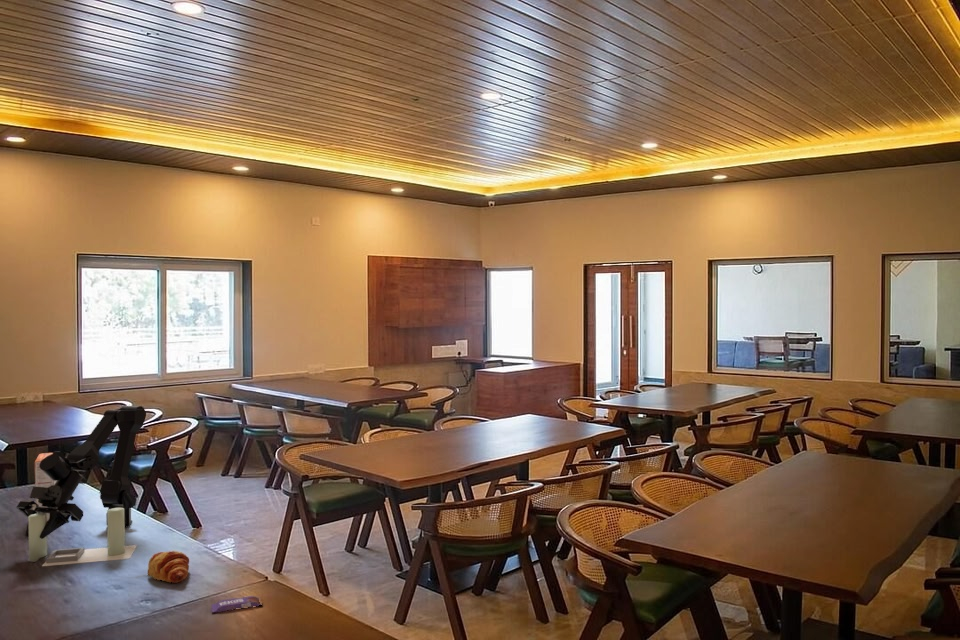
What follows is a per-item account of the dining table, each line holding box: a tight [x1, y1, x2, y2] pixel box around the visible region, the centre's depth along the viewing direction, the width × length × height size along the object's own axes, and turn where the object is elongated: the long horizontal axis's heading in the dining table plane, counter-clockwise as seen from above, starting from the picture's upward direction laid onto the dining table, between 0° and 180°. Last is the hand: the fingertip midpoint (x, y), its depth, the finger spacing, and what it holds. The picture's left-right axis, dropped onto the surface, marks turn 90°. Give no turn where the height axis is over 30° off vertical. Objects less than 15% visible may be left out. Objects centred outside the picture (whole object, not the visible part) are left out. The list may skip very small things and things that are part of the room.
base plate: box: [41, 544, 138, 567], centre depth 210 cm, size 22×12×2 cm, turn 106°
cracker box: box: [34, 452, 57, 522], centre depth 251 cm, size 14×6×21 cm, turn 25°
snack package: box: [210, 595, 261, 613], centre depth 176 cm, size 12×2×5 cm
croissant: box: [147, 550, 190, 584], centre depth 197 cm, size 21×10×8 cm, turn 41°
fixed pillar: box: [106, 508, 126, 556], centre depth 211 cm, size 4×4×12 cm
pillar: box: [27, 513, 48, 563], centre depth 209 cm, size 4×4×12 cm
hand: (33, 537), depth 208 cm, fingers closed on pillar, 4 cm apart
